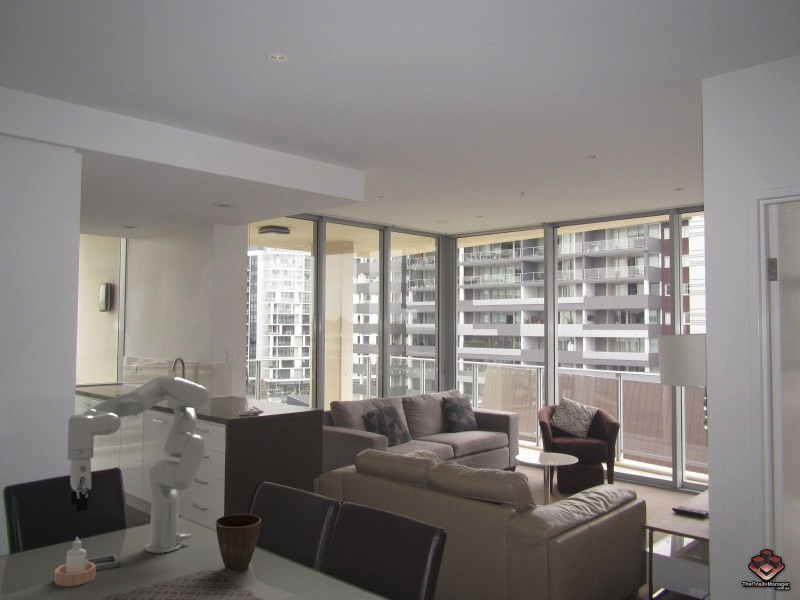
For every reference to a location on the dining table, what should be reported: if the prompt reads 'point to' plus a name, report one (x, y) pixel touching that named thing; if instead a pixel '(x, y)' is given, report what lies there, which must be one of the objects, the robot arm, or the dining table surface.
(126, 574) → the dining table surface
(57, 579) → the bowl
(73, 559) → the eye dropper bottle
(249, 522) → the plant pot
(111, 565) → the open rectangular frame
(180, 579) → the dining table surface
